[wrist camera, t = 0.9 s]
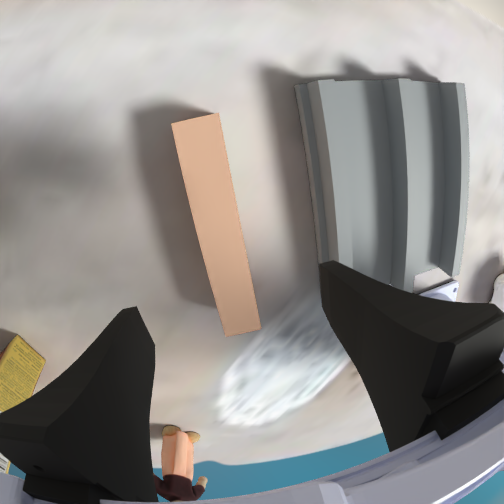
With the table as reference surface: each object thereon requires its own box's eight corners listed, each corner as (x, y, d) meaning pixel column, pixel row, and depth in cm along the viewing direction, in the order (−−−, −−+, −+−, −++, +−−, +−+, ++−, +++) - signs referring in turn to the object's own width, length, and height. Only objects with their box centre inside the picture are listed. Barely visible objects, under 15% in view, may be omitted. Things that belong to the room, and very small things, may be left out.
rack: (443, 258, 25) (462, 273, 22) (321, 296, 24) (334, 318, 21) (443, 83, 18) (468, 84, 15) (294, 85, 17) (309, 80, 14)
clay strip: (253, 301, 24) (261, 329, 21) (222, 308, 24) (225, 336, 20) (216, 114, 18) (218, 112, 14) (176, 122, 17) (171, 123, 14)
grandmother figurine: (213, 431, 30) (224, 529, 19) (201, 445, 32) (209, 535, 20) (147, 417, 28) (142, 521, 17) (140, 432, 29) (135, 527, 18)
